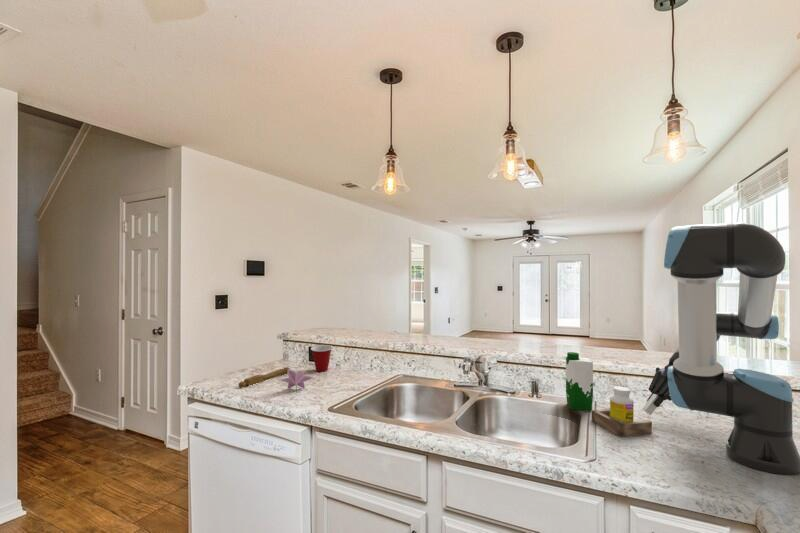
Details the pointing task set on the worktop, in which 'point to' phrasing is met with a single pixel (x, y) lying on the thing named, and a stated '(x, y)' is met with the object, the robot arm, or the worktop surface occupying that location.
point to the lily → (296, 379)
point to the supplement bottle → (621, 405)
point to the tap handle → (262, 377)
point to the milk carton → (579, 382)
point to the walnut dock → (621, 424)
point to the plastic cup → (321, 357)
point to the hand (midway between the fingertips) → (646, 411)
